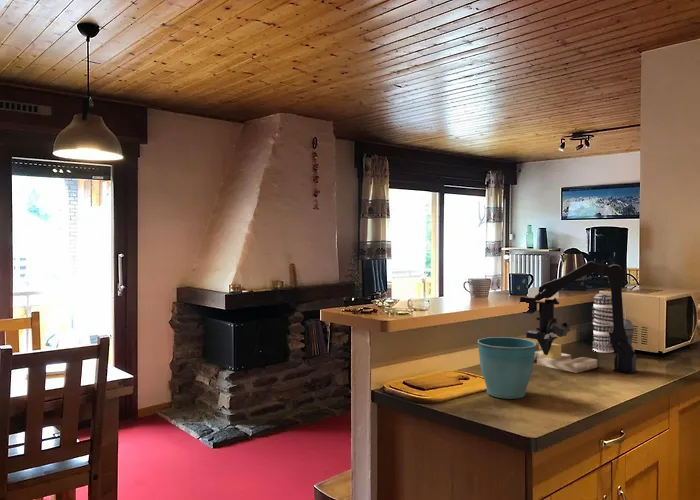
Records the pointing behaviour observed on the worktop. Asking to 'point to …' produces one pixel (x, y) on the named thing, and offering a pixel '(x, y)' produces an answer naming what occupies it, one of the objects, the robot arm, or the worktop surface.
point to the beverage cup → (628, 329)
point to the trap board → (564, 361)
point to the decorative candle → (602, 322)
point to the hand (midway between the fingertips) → (546, 354)
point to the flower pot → (506, 365)
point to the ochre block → (554, 351)
